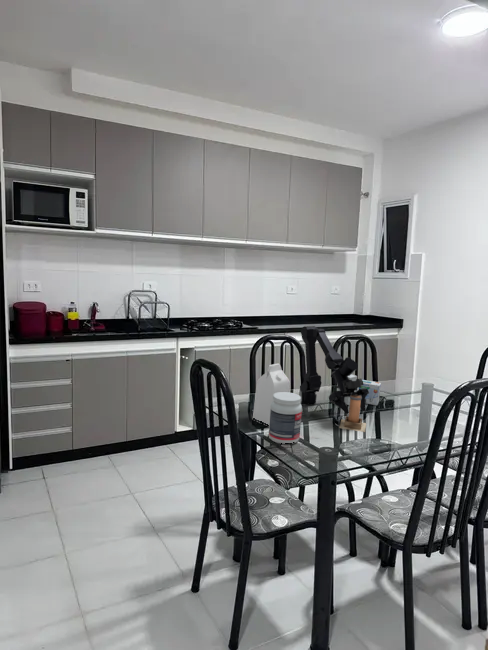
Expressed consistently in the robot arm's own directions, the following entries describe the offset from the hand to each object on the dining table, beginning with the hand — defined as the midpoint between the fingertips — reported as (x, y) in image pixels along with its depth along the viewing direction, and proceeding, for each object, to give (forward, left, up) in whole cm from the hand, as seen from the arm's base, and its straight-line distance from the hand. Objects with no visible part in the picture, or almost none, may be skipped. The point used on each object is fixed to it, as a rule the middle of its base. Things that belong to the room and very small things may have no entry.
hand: (356, 412), depth 201 cm
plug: (-1, +1, -6) cm, 7 cm away
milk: (-37, -5, -8) cm, 38 cm away
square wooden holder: (-1, +1, -8) cm, 8 cm away
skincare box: (-7, +37, -8) cm, 38 cm away
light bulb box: (+4, +43, -8) cm, 44 cm away
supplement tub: (-27, -23, -8) cm, 36 cm away
